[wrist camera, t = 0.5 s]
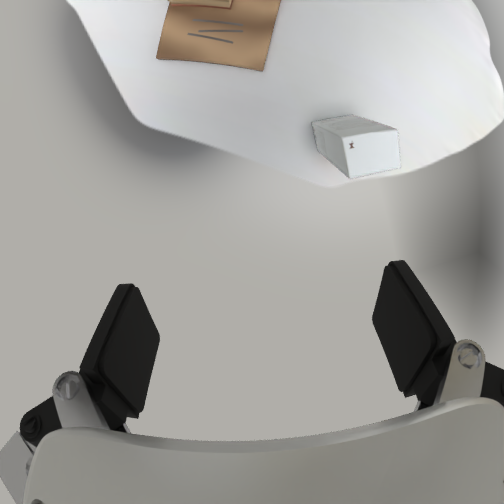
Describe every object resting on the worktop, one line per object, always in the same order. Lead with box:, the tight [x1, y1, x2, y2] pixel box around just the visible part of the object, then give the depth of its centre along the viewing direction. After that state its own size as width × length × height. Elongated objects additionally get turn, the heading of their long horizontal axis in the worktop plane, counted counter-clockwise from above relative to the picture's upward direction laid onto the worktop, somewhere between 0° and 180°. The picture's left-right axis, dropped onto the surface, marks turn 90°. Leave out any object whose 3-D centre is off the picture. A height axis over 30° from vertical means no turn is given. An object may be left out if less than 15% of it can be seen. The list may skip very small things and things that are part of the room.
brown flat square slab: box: [156, 0, 281, 71], centre depth 23 cm, size 13×13×2 cm
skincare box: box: [312, 115, 401, 179], centre depth 27 cm, size 6×4×12 cm
